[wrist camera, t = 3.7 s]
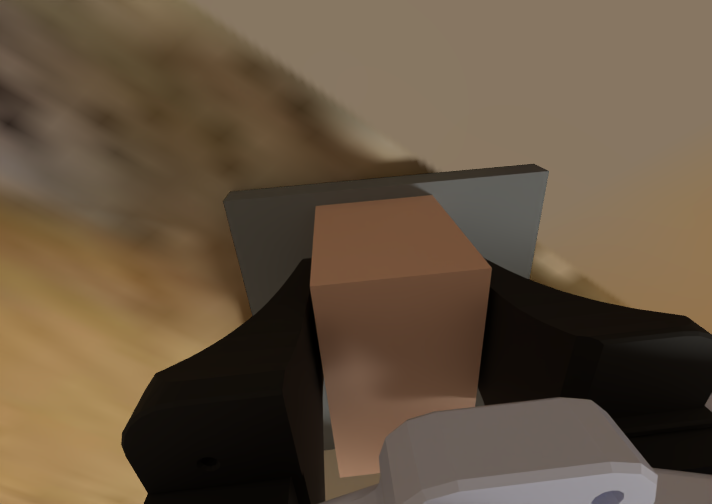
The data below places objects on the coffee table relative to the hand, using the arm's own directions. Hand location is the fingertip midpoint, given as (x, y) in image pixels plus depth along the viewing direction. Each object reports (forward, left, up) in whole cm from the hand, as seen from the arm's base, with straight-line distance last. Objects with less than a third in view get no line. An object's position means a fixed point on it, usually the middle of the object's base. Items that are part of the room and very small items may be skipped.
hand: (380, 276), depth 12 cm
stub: (0, +1, -1) cm, 1 cm away
